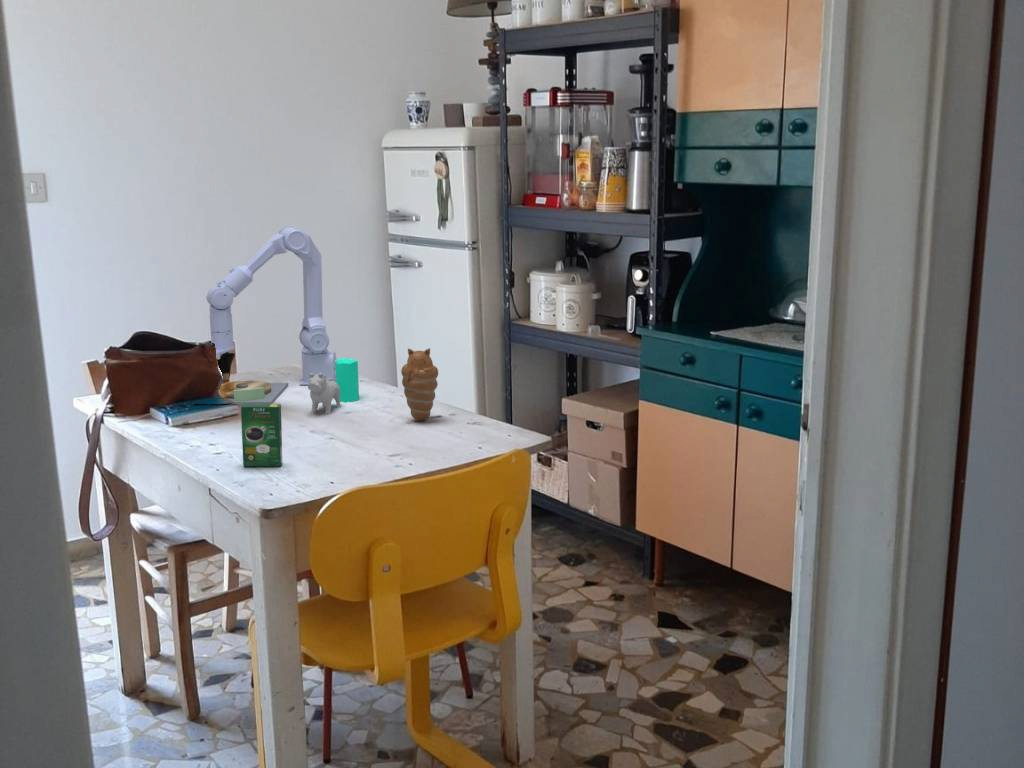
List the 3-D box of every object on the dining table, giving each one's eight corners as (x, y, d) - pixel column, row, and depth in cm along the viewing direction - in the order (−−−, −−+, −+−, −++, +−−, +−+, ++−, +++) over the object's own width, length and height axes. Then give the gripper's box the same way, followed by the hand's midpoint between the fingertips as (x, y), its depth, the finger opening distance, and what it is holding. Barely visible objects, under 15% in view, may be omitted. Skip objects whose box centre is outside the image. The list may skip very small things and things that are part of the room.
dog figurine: (303, 417, 242) (301, 375, 240) (323, 404, 255) (321, 364, 252) (324, 418, 241) (322, 376, 239) (343, 405, 254) (341, 365, 251)
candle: (333, 398, 261) (332, 353, 259) (355, 395, 264) (354, 351, 261) (339, 403, 256) (338, 357, 253) (362, 400, 259) (360, 356, 256)
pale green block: (263, 397, 258) (263, 387, 258) (265, 398, 257) (264, 388, 256) (233, 400, 255) (232, 390, 255) (234, 401, 254) (234, 391, 253)
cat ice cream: (401, 425, 235) (399, 351, 231) (404, 416, 242) (402, 345, 238) (438, 425, 235) (437, 351, 231) (439, 416, 243) (438, 344, 239)
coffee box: (284, 462, 206) (281, 402, 203) (282, 467, 203) (279, 405, 200) (245, 463, 205) (242, 402, 203) (242, 467, 203) (239, 406, 200)
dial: (275, 384, 272) (275, 369, 271) (264, 397, 257) (263, 382, 256) (220, 385, 271) (219, 370, 270) (206, 398, 256) (205, 382, 255)
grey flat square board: (288, 385, 275) (288, 381, 275) (270, 405, 254) (270, 400, 254) (216, 385, 275) (216, 381, 275) (193, 405, 254) (192, 401, 253)
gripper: (214, 326, 272) (217, 374, 275) (198, 335, 258) (202, 386, 261) (240, 326, 272) (243, 374, 275) (225, 335, 258) (228, 386, 261)
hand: (224, 380), depth 268 cm, fingers closed, pressing on dial
